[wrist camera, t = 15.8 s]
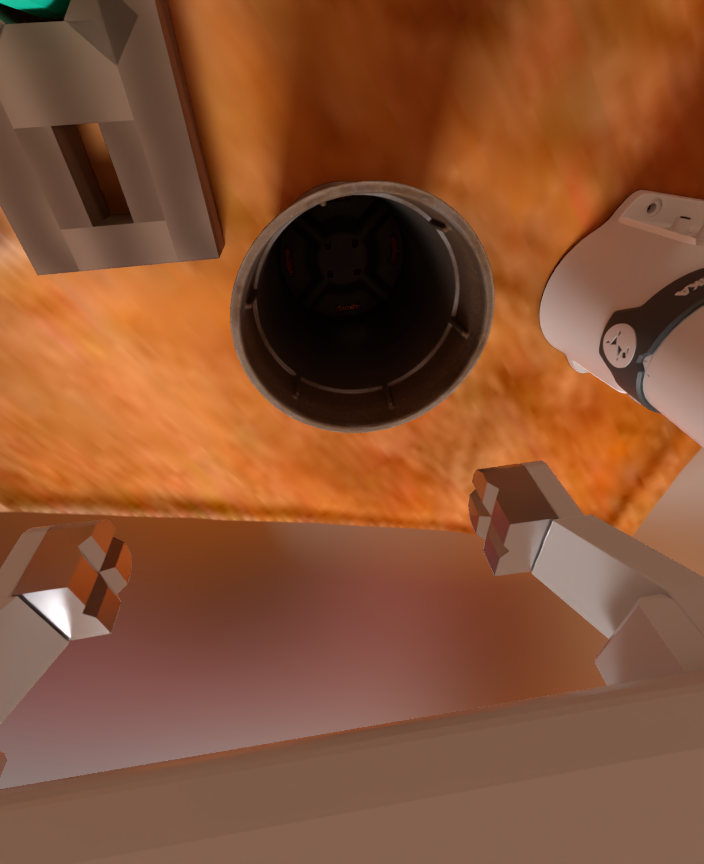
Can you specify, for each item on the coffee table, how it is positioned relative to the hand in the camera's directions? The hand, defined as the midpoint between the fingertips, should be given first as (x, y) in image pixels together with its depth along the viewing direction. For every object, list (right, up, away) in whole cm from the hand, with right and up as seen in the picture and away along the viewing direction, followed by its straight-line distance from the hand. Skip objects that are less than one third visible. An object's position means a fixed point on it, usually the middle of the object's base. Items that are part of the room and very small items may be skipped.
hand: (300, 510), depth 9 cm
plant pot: (0, +18, +29) cm, 34 cm away
